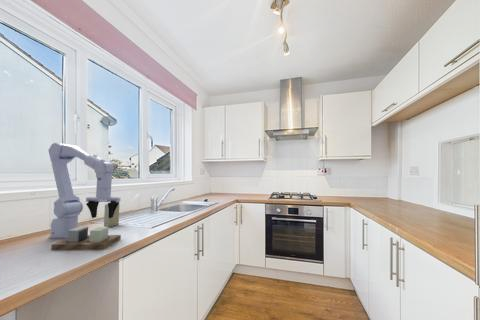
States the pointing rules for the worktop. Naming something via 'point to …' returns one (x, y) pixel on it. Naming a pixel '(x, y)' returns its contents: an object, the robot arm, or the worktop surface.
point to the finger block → (99, 234)
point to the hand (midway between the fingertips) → (102, 217)
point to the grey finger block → (77, 234)
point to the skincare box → (115, 219)
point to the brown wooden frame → (86, 244)
